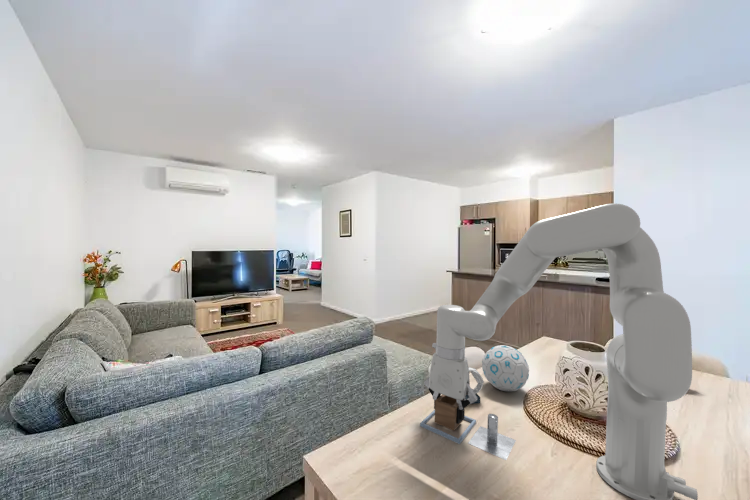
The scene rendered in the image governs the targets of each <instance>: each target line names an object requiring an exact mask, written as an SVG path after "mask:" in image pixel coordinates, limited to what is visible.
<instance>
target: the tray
mask: <svg viewBox="0 0 750 500" xmlns="http://www.w3.org/2000/svg"><path fill="white" fill-rule="evenodd" d="M434 417H435V409H433V411H432V412H431V413H429V414H428V415H427V416H426V417H425V418H424V419H423V420H421V422H420V423H419V427H421V428H423V429H426V430H428V431H429V432H432V433H435V434H436V435H439V436H440V437H443V438H445V439H447V440H450V441H451V442H454V443H457V444H458V445H461V444H462V442H463V441H464V440H465V438H466V437H467V435H468V434H469V433H470V431H471V430H472V429H473V428H474V427H475V425H476V424H477V419H474V418H472V417H469V416H467V415H464V420H463V421H467V422H469V425H468V426H467V427H466V428H465V430H464V431H463V432H462V434H461V435H460V436H459V437H457V436H454V435H451V434H449V433H447V432H445V431H443V430H441V429H438V428H435V427H433V426H432V425H429V424H427V423H428V422H429V421H430V420H431V419H432V418H434Z"/></svg>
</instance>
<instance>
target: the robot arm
mask: <svg viewBox="0 0 750 500" xmlns="http://www.w3.org/2000/svg"><path fill="white" fill-rule="evenodd" d="M640 219H641V218H640V216H639V214H638V213H637V212H636V211H635V210H634V209H633V208H632V207H629V206H628V205H625V204H622V203H606V204H603V205H602V204H601V205H598V206H594V207H591V208H587V209H582V210H577V211H575V212H571V213H570V212H569V213H567V214H562V215H558V216H553V217H548V218H544V219H541V220H538V221H535V223H533V224H532V225H531V226H530V227H529V228H528V230H527V231H526V232H525V234H523V236H522V238H521V239H520V240H519V241H518V243H517V244H516V245H515V246H514V249H512V251H511V252H510V253H509V255H507V258H506V259H505V260H504V261H503V263H502V264H501V265H500V267H499V269H498V270H497V271H496V273H495V275H494V277H493V279H492V281H491V282H490V284H488V286H487V288H486V289H485V291H484V292H483V293H482V295H481V296H479V299H478V300H477V301H476V303H475V304H474V306H473V307H472V308H471V309H470V310H465V308H464V307H462V306H460V305H456V304H442V305H440V306H439V307H438V308H437V311H436V312H437V313H436V342H433V343H432V345H431V347H432V349H435V352H434V353H433V354H432V358H431V364H430V369H429V377H427V379H426V380H424V381H423V384H424V385H425V387H426V388H427V389H428V391H429V393H430V394H431V395H432V400H433V403H434V404H433V410H435V400H436V399H438V398H439V397H440V396H441V395H445V396H448V397H451V398H454V399H456V401H457V404H458V408H457V417H456V423H457V424H459V423H460V422H461V421H462V420H463V421H465V420H464V416H465V412H466V411H465V408H467V407H468V406H469V405H473V404H472V403H474V402H475V401H476V400H477V399H478V398H477V396H476V395H475V393H474V392H473V390H472V389H473V388H472V387H471V385H470V384H471V383H470V382H471V380H470V371H469V368H468V367H469V363H468V362H469V361H468V358H467V357H466V356H465V355H466V354H465V353H466V350H465V349H466V338H468V339H471V340H474V341H478V342H485V341H488V340H490V339H491V338H492V337H493V336H494V335H495V332H496V328H497V324H498V323H499V321H500V320H501V318H502V317H503V316H504V315H505V314H506V313H507V311H508V309H510V307H511V306H512V305H513V304H514V303H515V302H516V301H517V300H518V299H519V298H520V297H522V296H524V295H526V294H527V293H528V292H529V291H530V290H531V289H533V286H535V284H536V283H537V281H539V280H540V278H541V276H542V275H543V274H544V272H545V271H546V270H547V269H548V267H549V266H550V265H551V264H552V263H553V261H554V260H555V259H556V258H557V257H558V258H560V257H565V256H566V257H568V256H573V255H577V254H583V253H588V252H593V251H598V250H602V252H603V253H604V255H605V257H606V260H607V265H608V274H609V310H610V314H611V317H612V318H613V319H614V321H616V322H617V323H618V324H619V325H620V326H622V334H619V335H617V336H615V337H614V338H613V339H611V341H610V342H609V343H608V346H607V348H606V370H607V372H606V373H607V405H606V408H607V409H606V429H605V431H606V432H605V453H604V455H601V456H599V457H598V458H597V459H596V464H595V465H596V471H597V472H598V474H599V476H600V477H601V478H602V479H603V480H604V482H606V483H607V484H608V485H610V487H612V488H613V489H615V490H616V491H618V492H619V493H620V494H623V495H624V496H627V497H629V498H631V499H633V500H673V499H675V493H677V494H679V495H683V496H684V497H687V498H689V499H692V500H698V498H699V497H698V496H699V495H698V490H697V488H694V487H691V486H689V485H687V481H686V479H683V478H681V477H678V476H675V475H672V474H670V473H669V472H667V470H666V465H665V457H666V456H665V454H666V453H665V452H666V435H667V433H666V432H667V419H668V416H667V415H668V403H671V402H675V401H678V400H680V399H681V398H683V397H684V396H685V395H686V394H688V391H689V390H690V388H691V385H692V381H693V352H692V351H693V348H692V346H693V345H692V326H691V321H690V318H689V315H688V312H687V310H686V309H685V307H684V306H683V305H682V303H681V302H680V301H679V300H677V299H676V298H674V297H673V296H671V295H669V294H668V293H666V292H665V291H664V284H663V275H662V274H663V272H662V263H661V262H662V261H661V258H660V254H659V253H660V252H659V249H658V247H657V245H656V244H655V241H654V240H653V239H652V237H651V236H650V235H649V234H648V233H647V232H646V231H645V230H644V229H643V228H642V227H641V220H640ZM466 394H468V396H469V398H468V399H466V400H465V396H466ZM463 421H462V422H463ZM462 422H461V423H462ZM461 423H460V424H461Z"/></svg>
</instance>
